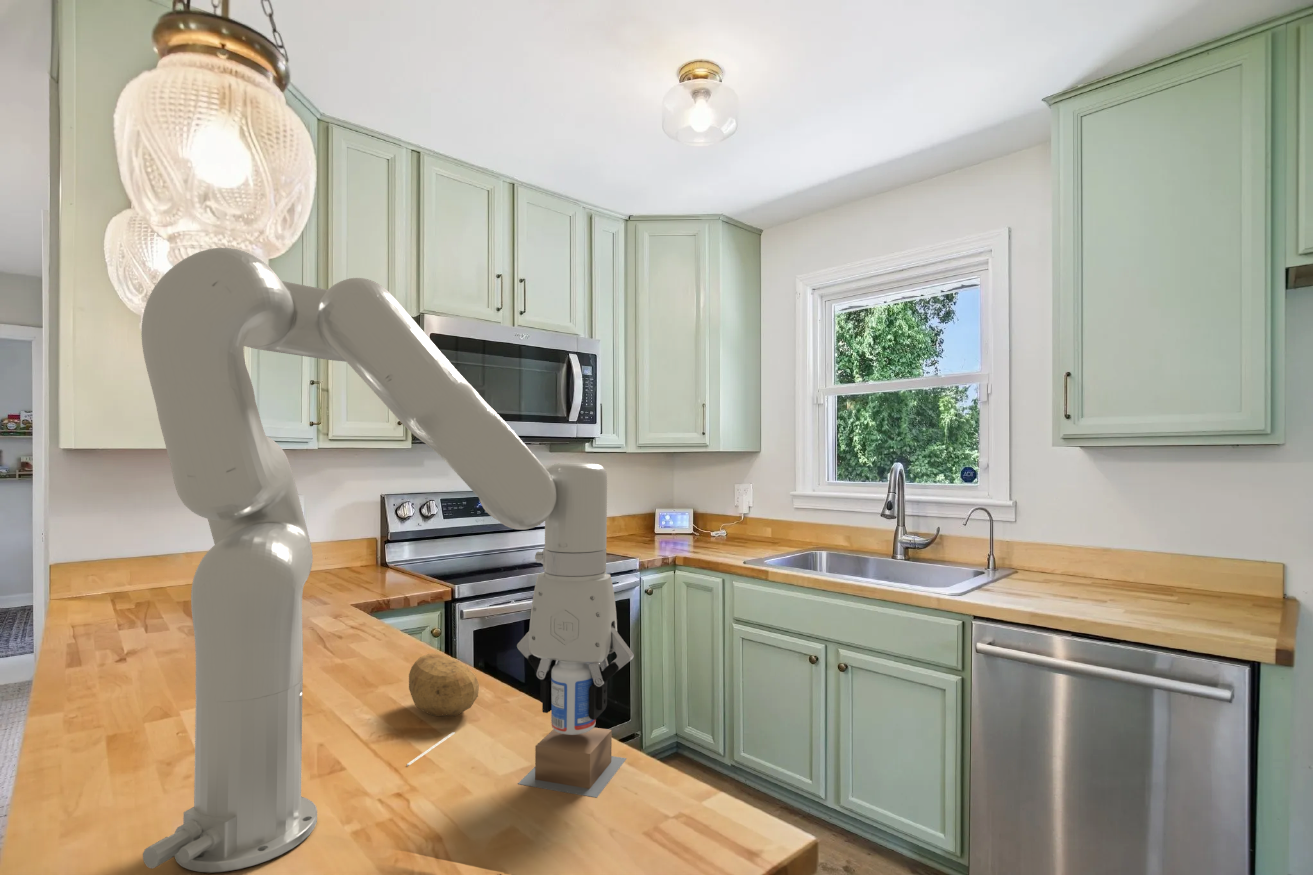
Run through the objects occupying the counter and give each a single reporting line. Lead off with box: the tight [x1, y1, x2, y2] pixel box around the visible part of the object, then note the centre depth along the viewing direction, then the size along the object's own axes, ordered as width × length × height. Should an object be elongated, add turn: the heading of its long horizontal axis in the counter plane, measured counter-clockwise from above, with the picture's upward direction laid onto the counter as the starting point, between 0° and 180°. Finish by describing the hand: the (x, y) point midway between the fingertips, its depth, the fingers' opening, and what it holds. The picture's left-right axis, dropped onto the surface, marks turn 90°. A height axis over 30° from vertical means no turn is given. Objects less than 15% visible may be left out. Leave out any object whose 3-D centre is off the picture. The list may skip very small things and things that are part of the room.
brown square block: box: [534, 726, 613, 789], centre depth 83 cm, size 7×7×4 cm
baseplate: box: [517, 755, 628, 798], centre depth 82 cm, size 10×10×1 cm
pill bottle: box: [550, 661, 597, 735], centre depth 83 cm, size 6×5×10 cm
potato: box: [408, 653, 480, 717], centre depth 102 cm, size 10×14×8 cm
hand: (573, 710), depth 82 cm, fingers closed on pill bottle, 5 cm apart
